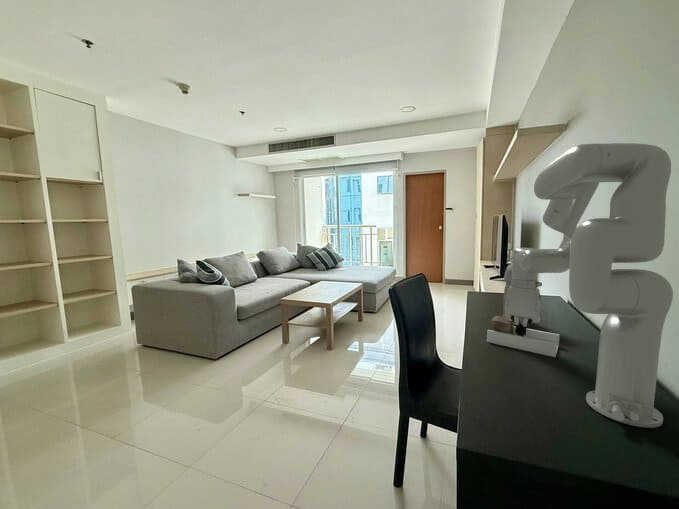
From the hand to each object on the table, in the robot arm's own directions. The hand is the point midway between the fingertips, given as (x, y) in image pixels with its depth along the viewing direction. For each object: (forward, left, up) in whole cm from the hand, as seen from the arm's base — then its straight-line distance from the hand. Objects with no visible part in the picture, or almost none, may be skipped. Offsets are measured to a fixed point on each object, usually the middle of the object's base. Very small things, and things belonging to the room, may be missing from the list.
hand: (520, 335), depth 107 cm
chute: (0, -1, -3) cm, 3 cm away
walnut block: (0, +6, -1) cm, 6 cm away
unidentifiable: (+25, +5, -3) cm, 26 cm away
